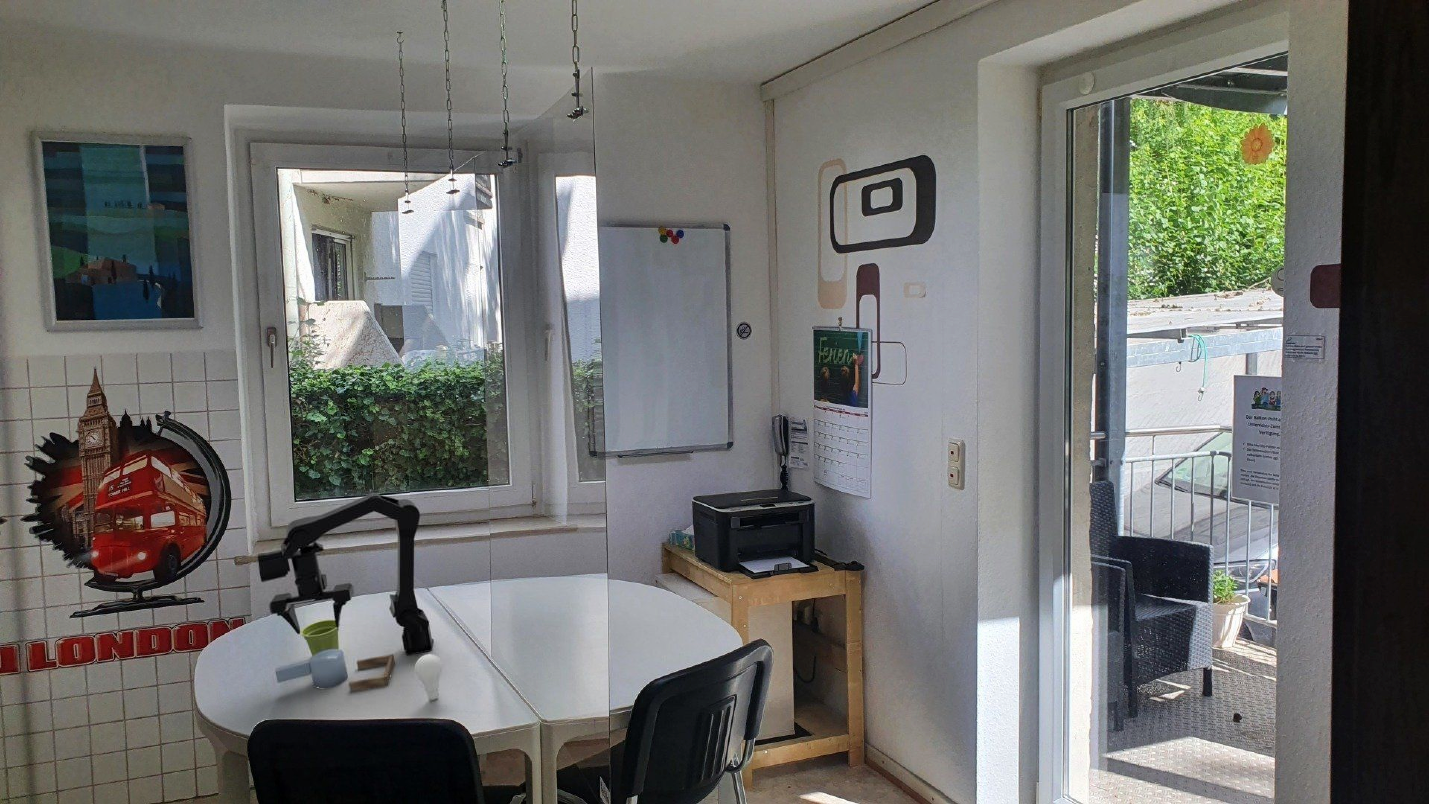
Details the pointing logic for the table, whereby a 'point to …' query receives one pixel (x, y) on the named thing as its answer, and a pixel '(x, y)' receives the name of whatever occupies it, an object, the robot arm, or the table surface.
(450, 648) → the table surface
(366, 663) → the holder
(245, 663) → the table surface
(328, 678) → the blue scoop
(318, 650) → the plant pot
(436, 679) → the lightbulb
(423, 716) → the table surface
